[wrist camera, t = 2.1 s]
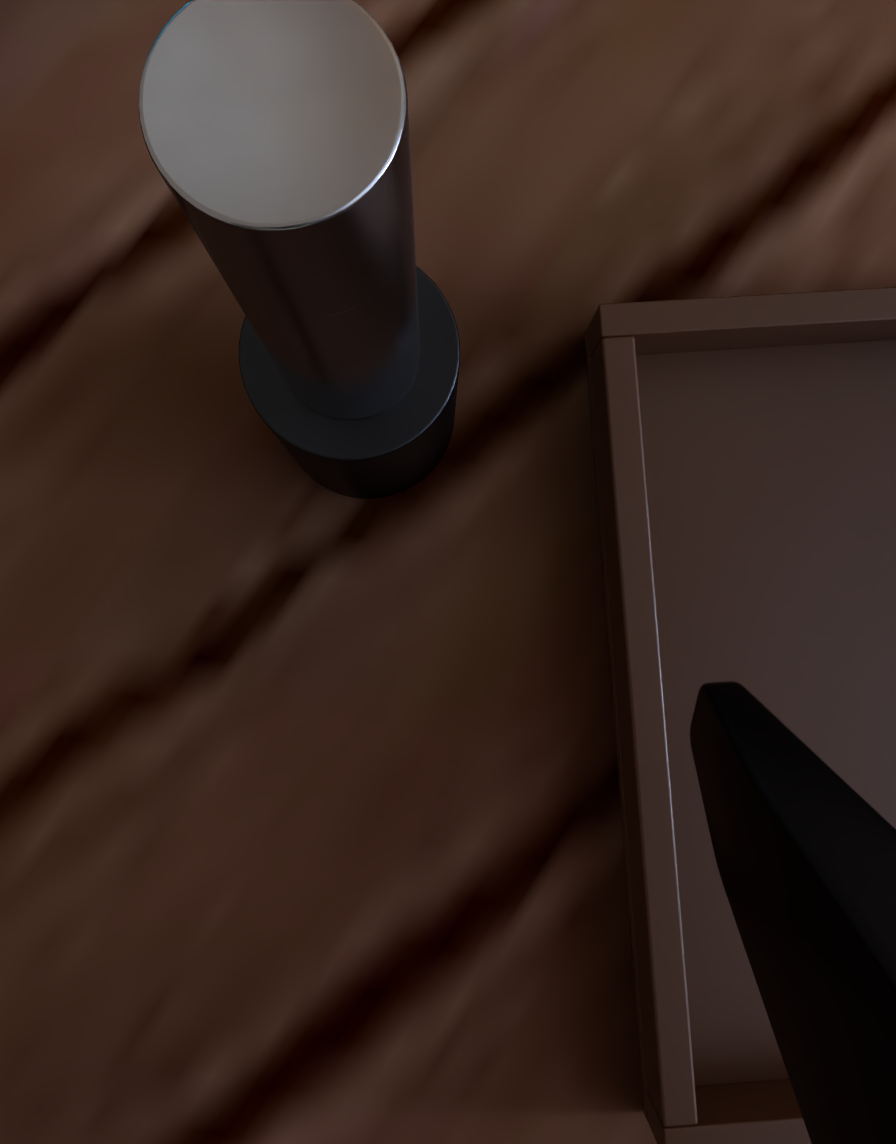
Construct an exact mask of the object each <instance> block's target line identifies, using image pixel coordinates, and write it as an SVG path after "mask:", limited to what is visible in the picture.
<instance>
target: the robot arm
mask: <svg viewBox="0 0 896 1144" xmlns="http://www.w3.org/2000/svg"><path fill="white" fill-rule="evenodd" d="M690 744H691V749H692V754H693V759H694V763H695V768H696V772H697V777H698V781H699V786H700V791H701V795H702V800H703V804H704V809H705V814H706V818H707V823H708V827H709V832H710V836H711V841H712V846H713V850H714V854H715V858H716V863H717V867H718V870H719V873H720V877H721V880H722V883H723V886H724V889H725V892H726V895H727V898H728V901H729V904H730V907H731V910H732V913H733V916H734V919H735V921H736V924H737V927H738V930H739V933H740V936H741V939H742V942H743V945H744V948H745V951H746V954H747V957H748V959H749V962H750V965H751V968H752V971H753V974H754V977H755V980H756V983H757V986H758V989H759V992H760V995H761V997H762V1000H763V1003H764V1006H765V1009H766V1012H767V1015H768V1018H769V1021H770V1024H771V1027H772V1030H773V1033H774V1035H775V1038H776V1041H777V1044H778V1047H779V1050H780V1053H781V1056H782V1059H783V1062H784V1065H785V1068H786V1071H787V1073H788V1076H789V1079H790V1082H791V1085H792V1088H793V1091H794V1094H795V1097H796V1100H797V1103H798V1106H799V1108H800V1111H801V1114H802V1117H803V1120H804V1123H805V1126H806V1129H807V1132H808V1135H809V1138H810V1141H811V1144H896V829H895V828H894V827H893V826H892V825H891V824H890V823H889V822H888V821H886V820H885V819H884V818H883V817H882V816H881V815H880V814H879V813H878V812H877V811H876V810H875V809H874V808H873V807H872V806H871V805H869V804H868V803H867V802H866V801H865V800H864V799H863V798H862V797H861V796H860V795H859V794H858V793H857V792H856V791H855V790H854V789H852V788H851V787H850V786H849V785H848V784H847V783H846V782H845V781H844V780H843V779H842V778H841V777H840V776H839V775H838V774H836V773H835V772H834V771H833V770H832V769H831V768H830V767H829V766H828V765H827V764H826V763H825V762H824V761H823V760H822V759H821V758H819V757H818V756H817V755H816V754H815V753H814V752H813V751H812V750H811V749H810V748H809V747H808V746H807V745H806V744H805V743H804V742H802V741H801V740H800V739H799V738H798V737H797V736H796V735H795V734H794V733H793V732H792V731H791V730H790V729H789V728H788V727H787V726H785V725H784V724H783V723H782V722H781V721H780V720H779V719H778V718H777V717H776V716H775V715H774V714H773V713H772V712H771V711H769V710H768V709H767V708H766V707H765V706H764V705H763V704H762V703H761V702H760V701H759V700H758V699H757V698H756V697H755V696H754V695H752V694H751V693H750V692H749V691H748V690H747V689H746V688H745V687H744V686H743V685H741V684H740V683H738V682H735V681H724V682H711V683H705V684H703V685H702V686H701V687H700V689H699V692H698V696H697V700H696V705H695V709H694V713H693V717H692V721H691V726H690Z"/></svg>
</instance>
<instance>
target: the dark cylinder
mask: <svg viewBox="0 0 896 1144" xmlns="http://www.w3.org/2000/svg"><path fill="white" fill-rule="evenodd" d="M139 115H140V124H141V129H142V133H143V137H144V141H145V144H146V147H147V149H148V152H149V154H150V157H151V159H152V161H153V162H154V164H155V166H156V168H157V169H158V171H159V173H160V174H161V176H162V178H163V179H164V181H165V183H166V184H167V186H168V188H169V189H170V191H171V193H172V194H173V196H174V198H175V199H176V201H177V203H178V204H179V206H180V208H181V209H182V211H183V213H184V214H185V216H186V218H187V219H188V221H189V222H190V224H191V226H192V227H193V229H194V231H195V232H196V234H197V236H198V237H199V239H200V241H201V242H202V244H203V246H204V247H205V249H206V251H207V252H208V254H209V256H210V257H211V259H212V261H213V262H214V264H215V266H216V267H217V269H218V271H219V272H220V274H221V275H222V277H223V279H224V280H225V282H226V284H227V285H228V287H229V289H230V290H231V292H232V294H233V295H234V297H235V299H236V300H237V302H238V304H239V305H240V307H241V309H242V310H243V312H244V314H245V318H244V322H243V325H242V329H241V334H240V341H239V364H240V372H241V376H242V380H243V384H244V387H245V390H246V392H247V395H248V397H249V399H250V401H251V403H252V405H253V406H254V408H255V410H256V412H257V413H258V414H259V416H260V417H261V418H262V420H263V421H264V422H265V424H266V425H267V426H268V427H269V428H270V430H271V431H272V432H273V433H274V434H275V436H276V437H277V438H278V439H279V440H280V442H281V443H282V444H283V445H284V446H285V448H286V449H287V450H288V451H289V453H290V454H291V455H292V456H293V457H294V459H295V460H296V461H297V462H298V463H299V465H300V466H301V467H302V468H303V469H304V470H305V471H306V472H307V473H308V474H309V475H310V476H311V477H312V478H313V479H314V480H316V481H317V482H318V483H319V484H321V485H323V486H324V487H326V488H328V489H330V490H332V491H334V492H337V493H339V494H342V495H346V496H350V497H356V498H381V497H387V496H391V495H394V494H397V493H400V492H402V491H405V490H407V489H409V488H411V487H412V486H414V485H416V484H417V483H419V482H420V481H421V480H422V479H424V478H425V477H426V476H427V475H428V474H429V473H430V472H431V471H432V470H433V469H434V468H435V467H436V465H437V464H438V463H439V461H440V460H441V458H442V456H443V455H444V453H445V451H446V449H447V447H448V444H449V442H450V438H451V435H452V431H453V424H454V416H455V406H456V395H457V385H458V375H459V364H460V342H459V334H458V329H457V325H456V322H455V318H454V315H453V313H452V311H451V308H450V306H449V304H448V302H447V300H446V299H445V297H444V295H443V294H442V292H441V291H440V289H439V288H438V287H437V286H436V284H435V283H434V282H433V281H432V280H431V279H430V278H429V277H428V276H427V275H426V274H425V273H424V272H423V271H422V270H421V269H419V268H418V267H417V266H416V259H415V239H414V219H413V199H412V179H411V159H410V139H409V119H408V99H407V89H406V82H405V77H404V73H403V69H402V66H401V62H400V60H399V58H398V55H397V53H396V51H395V48H394V46H393V45H392V43H391V41H390V39H389V38H388V36H387V34H386V33H385V31H384V30H383V29H382V28H381V26H380V25H379V24H378V23H377V21H376V20H375V19H374V18H373V17H372V16H371V15H370V14H369V13H368V12H367V11H366V10H365V9H364V8H363V7H362V6H361V5H360V4H358V3H357V2H356V1H354V0H191V1H189V2H188V3H187V4H186V5H184V6H183V7H182V8H181V9H180V10H179V11H178V12H177V13H176V14H175V15H174V16H173V17H172V18H171V19H170V20H169V22H168V23H167V24H166V25H165V26H164V28H163V29H162V31H161V32H160V34H159V35H158V37H157V39H156V40H155V42H154V44H153V46H152V48H151V50H150V52H149V55H148V57H147V60H146V63H145V66H144V69H143V73H142V78H141V84H140V91H139Z"/></svg>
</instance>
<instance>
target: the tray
mask: <svg viewBox="0 0 896 1144" xmlns="http://www.w3.org/2000/svg"><path fill="white" fill-rule="evenodd" d="M584 336H585V349H586V362H587V375H588V388H589V401H590V414H591V427H592V440H593V453H594V466H595V479H596V492H597V505H598V518H599V531H600V544H601V557H602V570H603V583H604V596H605V609H606V622H607V635H608V648H609V661H610V674H611V687H612V700H613V712H614V725H615V738H616V751H617V764H618V777H619V790H620V803H621V816H622V829H623V842H624V855H625V868H626V881H627V894H628V907H629V920H630V933H631V946H632V959H633V972H634V985H635V998H636V1011H637V1024H638V1037H639V1050H640V1063H641V1076H642V1089H643V1102H644V1114H645V1116H646V1118H647V1121H648V1122H649V1125H650V1128H651V1130H652V1132H653V1134H654V1137H655V1139H656V1141H657V1144H811V1141H810V1138H809V1135H808V1132H807V1129H806V1126H805V1123H804V1120H803V1117H802V1114H801V1111H800V1108H799V1106H798V1103H797V1100H796V1097H795V1094H794V1091H793V1088H792V1085H791V1082H790V1079H789V1076H788V1073H787V1071H786V1068H785V1065H784V1062H783V1059H782V1056H781V1053H780V1050H779V1047H778V1044H777V1041H776V1038H775V1035H774V1033H773V1030H772V1027H771V1024H770V1021H769V1018H768V1015H767V1012H766V1009H765V1006H764V1003H763V1000H762V997H761V995H760V992H759V989H758V986H757V983H756V980H755V977H754V974H753V971H752V968H751V965H750V962H749V959H748V957H747V954H746V951H745V948H744V945H743V942H742V939H741V936H740V933H739V930H738V927H737V924H736V921H735V919H734V916H733V913H732V910H731V907H730V904H729V901H728V898H727V895H726V892H725V889H724V886H723V883H722V880H721V877H720V873H719V870H718V867H717V863H716V858H715V854H714V850H713V846H712V841H711V836H710V832H709V827H708V823H707V818H706V814H705V809H704V804H703V800H702V795H701V791H700V786H699V781H698V777H697V772H696V768H695V763H694V759H693V754H692V749H691V744H690V726H691V721H692V717H693V713H694V709H695V705H696V700H697V696H698V692H699V689H700V687H701V686H702V685H703V684H705V683H711V682H724V681H735V682H738V683H740V684H741V685H743V686H744V687H745V688H746V689H747V690H748V691H749V692H750V693H751V694H752V695H754V696H755V697H756V698H757V699H758V700H759V701H760V702H761V703H762V704H763V705H764V706H765V707H766V708H767V709H768V710H769V711H771V712H772V713H773V714H774V715H775V716H776V717H777V718H778V719H779V720H780V721H781V722H782V723H783V724H784V725H785V726H787V727H788V728H789V729H790V730H791V731H792V732H793V733H794V734H795V735H796V736H797V737H798V738H799V739H800V740H801V741H802V742H804V743H805V744H806V745H807V746H808V747H809V748H810V749H811V750H812V751H813V752H814V753H815V754H816V755H817V756H818V757H819V758H821V759H822V760H823V761H824V762H825V763H826V764H827V765H828V766H829V767H830V768H831V769H832V770H833V771H834V772H835V773H836V774H838V775H839V776H840V777H841V778H842V779H843V780H844V781H845V782H846V783H847V784H848V785H849V786H850V787H851V788H852V789H854V790H855V791H856V792H857V793H858V794H859V795H860V796H861V797H862V798H863V799H864V800H865V801H866V802H867V803H868V804H869V805H871V806H872V807H873V808H874V809H875V810H876V811H877V812H878V813H879V814H880V815H881V816H882V817H883V818H884V819H885V820H886V821H888V822H889V823H890V824H891V825H892V826H893V827H894V828H895V829H896V287H891V288H873V289H856V290H839V291H821V292H804V293H786V294H769V295H752V296H734V297H717V298H700V299H682V300H665V301H647V302H630V303H613V304H600V305H599V306H598V308H597V310H596V312H595V314H594V316H593V318H592V320H591V322H590V324H589V326H588V328H587V329H586V331H585V334H584Z"/></svg>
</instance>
